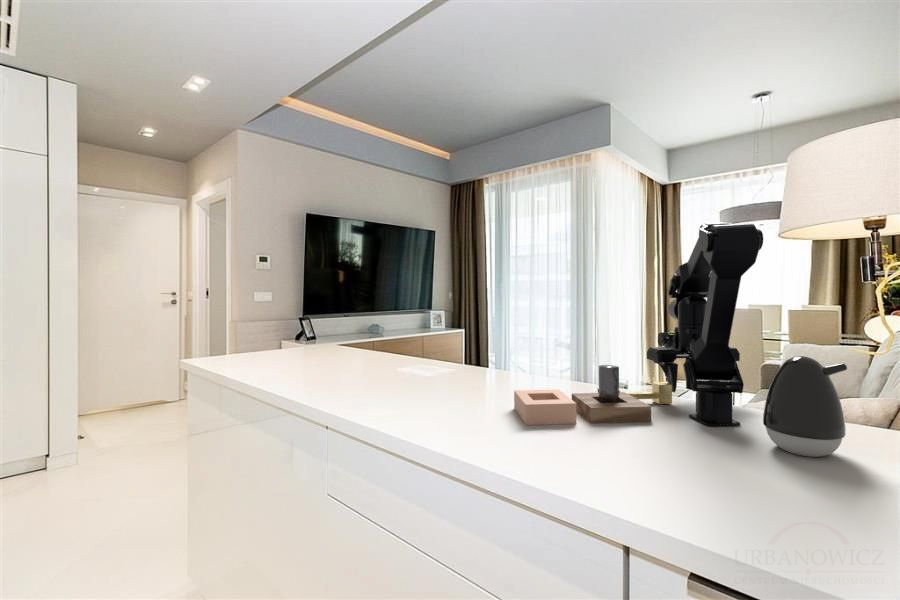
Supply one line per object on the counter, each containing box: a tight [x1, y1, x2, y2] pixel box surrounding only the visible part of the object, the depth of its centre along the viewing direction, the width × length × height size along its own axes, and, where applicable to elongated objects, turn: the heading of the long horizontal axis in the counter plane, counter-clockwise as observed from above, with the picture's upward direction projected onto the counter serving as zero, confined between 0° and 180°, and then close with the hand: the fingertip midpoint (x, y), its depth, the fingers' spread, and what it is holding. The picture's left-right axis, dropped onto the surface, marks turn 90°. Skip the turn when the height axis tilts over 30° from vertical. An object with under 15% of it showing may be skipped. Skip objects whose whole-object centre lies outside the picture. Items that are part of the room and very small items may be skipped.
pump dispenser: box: [762, 355, 848, 458], centre depth 69 cm, size 10×10×15 cm
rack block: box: [513, 388, 577, 426], centre depth 91 cm, size 12×10×4 cm
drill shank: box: [598, 364, 620, 403], centre depth 91 cm, size 4×4×10 cm
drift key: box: [626, 381, 673, 405], centre depth 99 cm, size 3×11×4 cm, turn 92°
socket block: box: [571, 388, 652, 424], centre depth 92 cm, size 15×12×3 cm
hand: (692, 391), depth 99 cm, fingers open, 9 cm apart
